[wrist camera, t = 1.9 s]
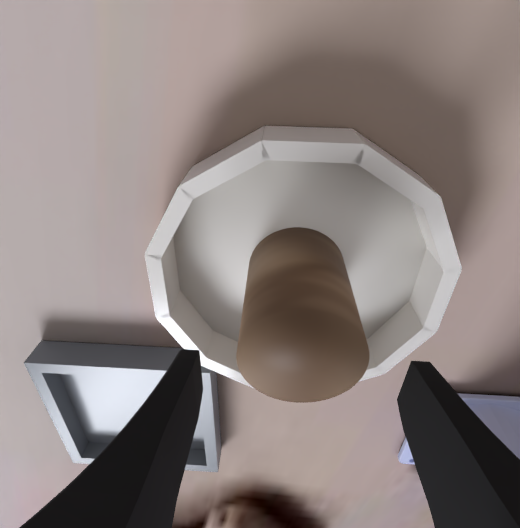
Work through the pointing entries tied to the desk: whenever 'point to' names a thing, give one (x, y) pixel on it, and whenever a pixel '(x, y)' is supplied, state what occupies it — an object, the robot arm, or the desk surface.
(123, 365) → the tray
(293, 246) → the cylinder
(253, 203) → the bowl
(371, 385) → the desk surface
